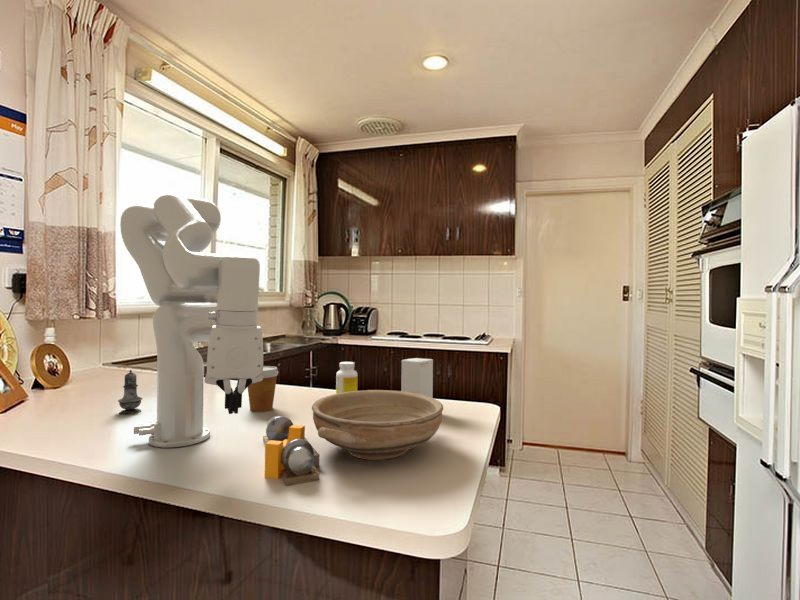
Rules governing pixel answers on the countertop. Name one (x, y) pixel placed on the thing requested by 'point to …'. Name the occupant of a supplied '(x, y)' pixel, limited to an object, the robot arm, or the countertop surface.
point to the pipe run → (293, 453)
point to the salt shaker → (130, 396)
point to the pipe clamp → (280, 451)
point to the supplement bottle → (346, 378)
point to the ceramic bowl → (377, 421)
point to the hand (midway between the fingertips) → (232, 411)
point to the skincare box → (417, 376)
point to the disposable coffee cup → (263, 390)
